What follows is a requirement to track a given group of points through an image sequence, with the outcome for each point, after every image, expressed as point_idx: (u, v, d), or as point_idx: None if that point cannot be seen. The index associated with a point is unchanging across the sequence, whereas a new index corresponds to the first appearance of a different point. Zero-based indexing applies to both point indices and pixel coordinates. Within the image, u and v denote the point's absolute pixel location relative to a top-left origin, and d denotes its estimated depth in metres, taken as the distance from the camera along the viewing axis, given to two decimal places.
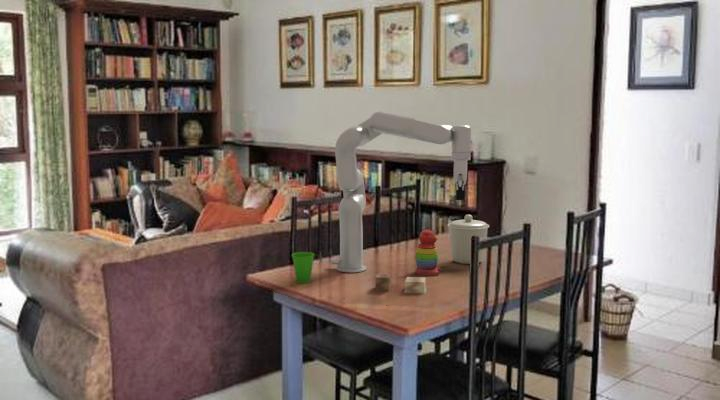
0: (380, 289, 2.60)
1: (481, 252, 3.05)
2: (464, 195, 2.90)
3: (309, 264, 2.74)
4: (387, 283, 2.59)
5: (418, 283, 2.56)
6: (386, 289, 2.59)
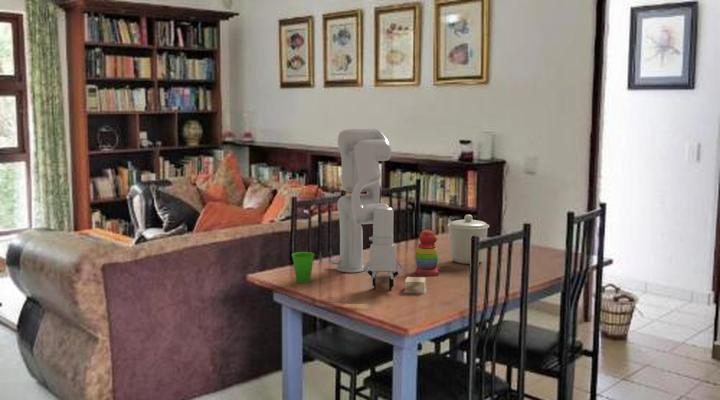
0: (380, 289, 2.60)
1: (481, 252, 3.05)
2: None
3: (309, 264, 2.74)
4: (387, 283, 2.59)
5: (418, 283, 2.56)
6: (386, 289, 2.59)
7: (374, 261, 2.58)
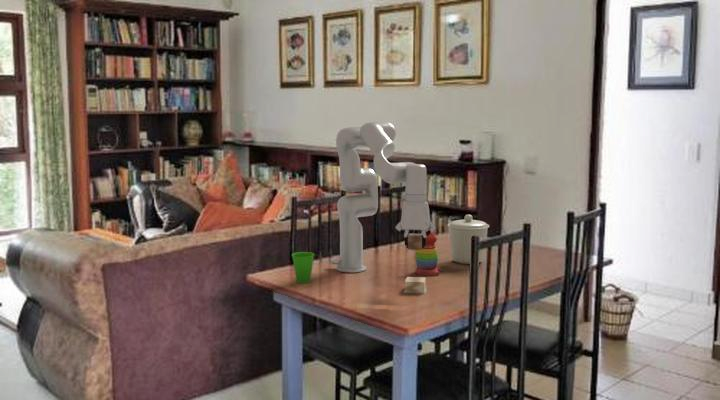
0: (413, 248, 2.55)
1: (481, 252, 3.05)
2: None
3: (309, 264, 2.74)
4: (420, 242, 2.55)
5: (418, 283, 2.56)
6: (419, 248, 2.55)
7: (407, 219, 2.54)
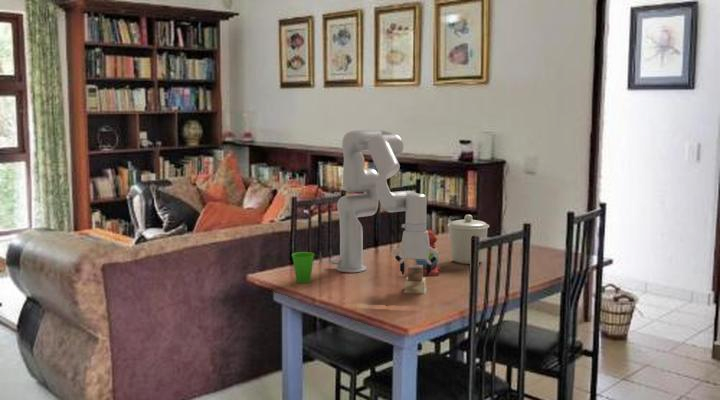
0: (413, 279, 2.57)
1: (481, 252, 3.05)
2: (404, 270, 2.61)
3: (309, 264, 2.74)
4: (420, 273, 2.56)
5: (418, 283, 2.56)
6: (419, 279, 2.57)
7: (407, 248, 2.56)
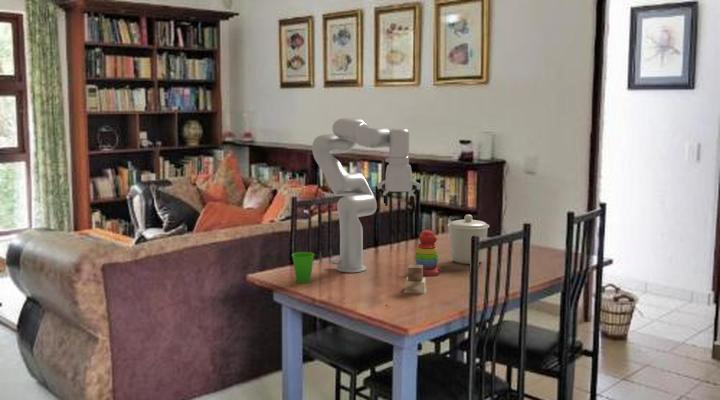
0: (413, 279, 2.57)
1: (481, 252, 3.05)
2: None
3: (309, 264, 2.74)
4: (420, 273, 2.56)
5: (418, 283, 2.56)
6: (419, 279, 2.57)
7: (390, 181, 2.68)
